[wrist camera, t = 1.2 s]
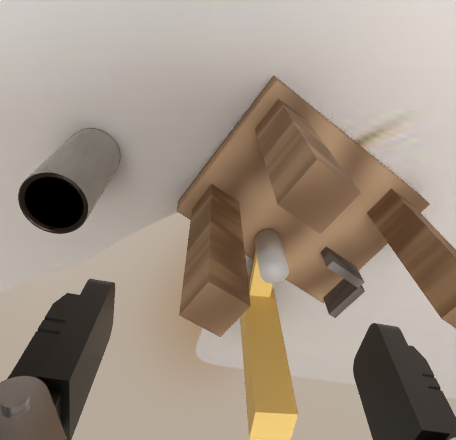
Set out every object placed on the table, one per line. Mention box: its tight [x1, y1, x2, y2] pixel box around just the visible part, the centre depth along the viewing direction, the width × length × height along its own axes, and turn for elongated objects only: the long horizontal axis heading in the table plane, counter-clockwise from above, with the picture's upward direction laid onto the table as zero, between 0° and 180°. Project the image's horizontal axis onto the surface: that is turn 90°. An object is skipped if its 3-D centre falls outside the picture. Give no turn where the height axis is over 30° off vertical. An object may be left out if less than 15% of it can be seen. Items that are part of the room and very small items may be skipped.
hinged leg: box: [240, 229, 298, 440], centre depth 33 cm, size 10×3×14 cm, turn 173°
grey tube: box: [18, 129, 120, 234], centre depth 31 cm, size 4×4×10 cm
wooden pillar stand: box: [177, 76, 456, 337], centre depth 31 cm, size 18×14×16 cm
